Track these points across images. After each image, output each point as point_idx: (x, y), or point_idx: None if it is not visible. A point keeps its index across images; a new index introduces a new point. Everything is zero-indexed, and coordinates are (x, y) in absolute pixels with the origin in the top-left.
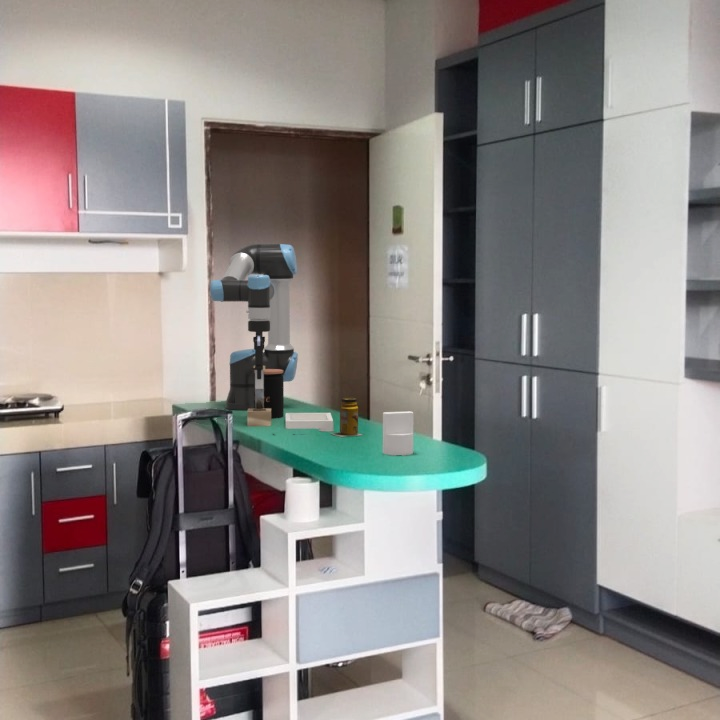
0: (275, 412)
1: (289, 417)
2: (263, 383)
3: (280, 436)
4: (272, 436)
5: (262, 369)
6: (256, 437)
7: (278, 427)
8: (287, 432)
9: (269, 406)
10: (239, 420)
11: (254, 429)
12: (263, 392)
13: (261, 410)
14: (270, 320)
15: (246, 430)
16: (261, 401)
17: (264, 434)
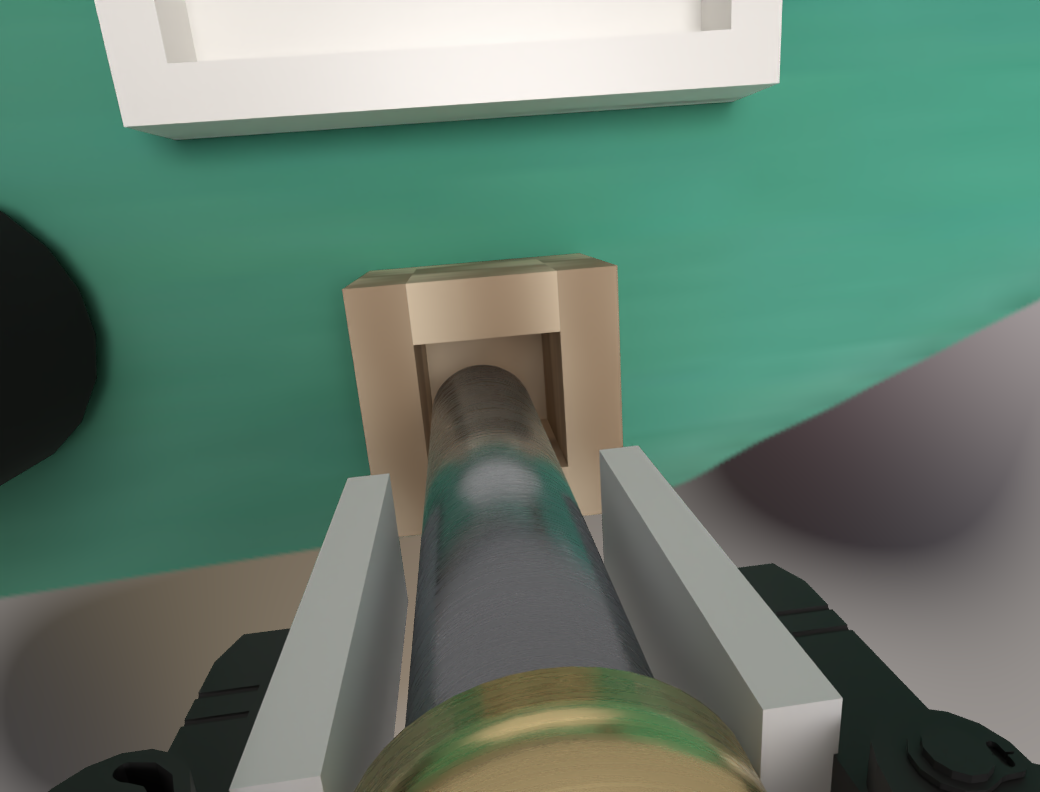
0: (15, 261)
1: (497, 52)
2: (532, 490)
3: (972, 133)
4: (961, 203)
5: (953, 720)
6: (984, 326)
7: (484, 190)
8: None
9: (8, 341)
10: (102, 579)
11: None
12: (518, 428)
13: (419, 390)
14: None
15: (649, 444)
16: (536, 412)
17: (856, 279)
